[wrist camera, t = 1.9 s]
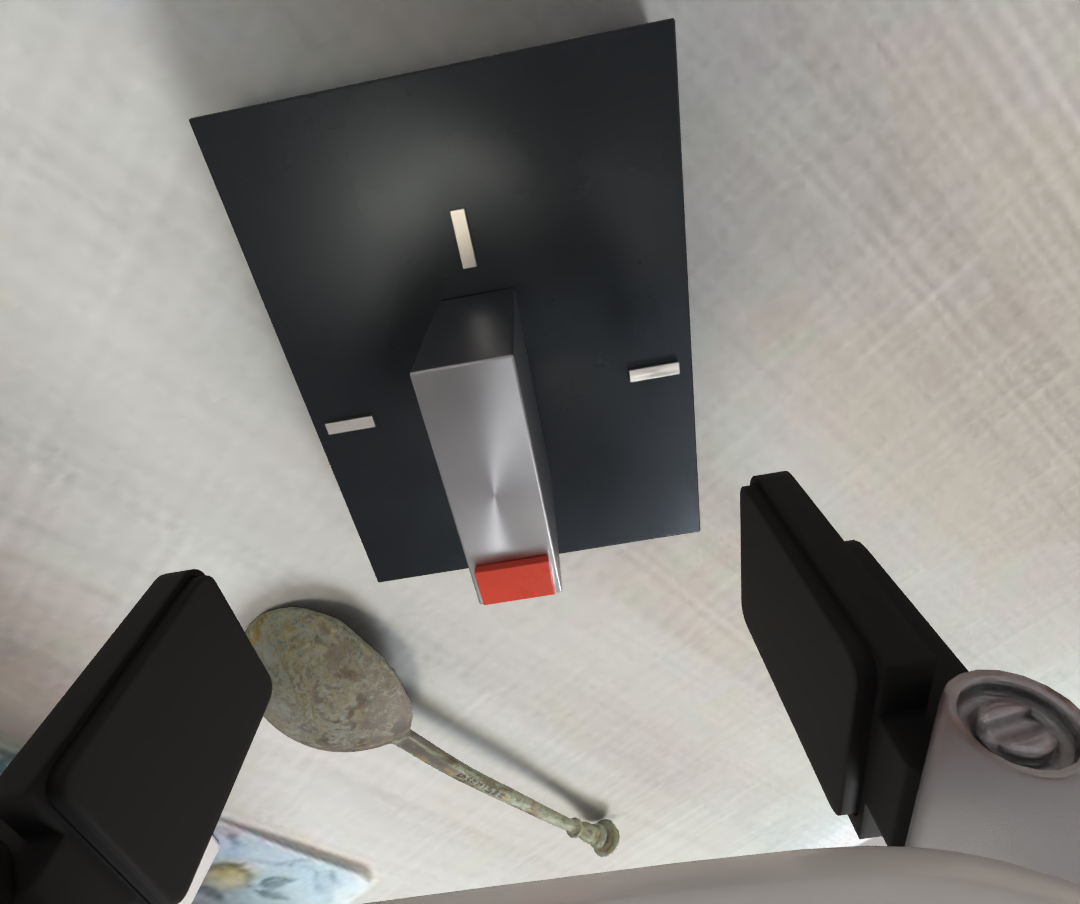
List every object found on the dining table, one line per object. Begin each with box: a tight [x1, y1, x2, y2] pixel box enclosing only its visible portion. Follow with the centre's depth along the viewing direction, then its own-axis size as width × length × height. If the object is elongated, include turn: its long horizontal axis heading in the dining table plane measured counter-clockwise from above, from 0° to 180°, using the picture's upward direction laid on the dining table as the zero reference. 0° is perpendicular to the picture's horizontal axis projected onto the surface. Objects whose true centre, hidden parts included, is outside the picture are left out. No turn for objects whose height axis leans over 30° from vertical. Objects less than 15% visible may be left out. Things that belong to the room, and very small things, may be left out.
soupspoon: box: [245, 607, 619, 857], centre depth 27 cm, size 22×3×7 cm
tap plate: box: [189, 18, 700, 582], centre depth 17 cm, size 14×11×3 cm
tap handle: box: [410, 288, 562, 605], centre depth 15 cm, size 6×2×5 cm, turn 10°
